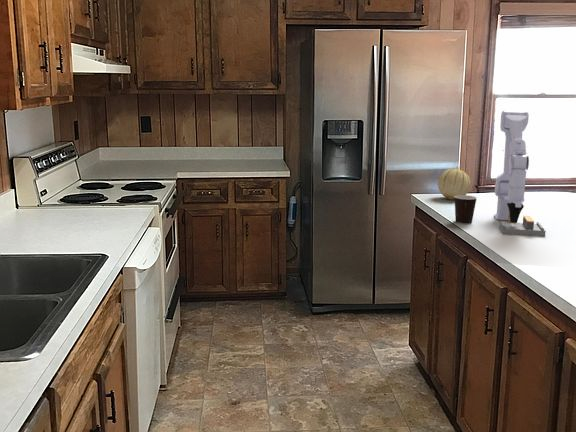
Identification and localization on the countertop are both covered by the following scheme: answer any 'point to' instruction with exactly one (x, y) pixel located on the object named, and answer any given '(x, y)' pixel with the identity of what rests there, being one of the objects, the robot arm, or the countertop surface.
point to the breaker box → (521, 229)
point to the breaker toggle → (528, 222)
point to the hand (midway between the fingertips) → (513, 222)
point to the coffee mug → (464, 208)
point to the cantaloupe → (453, 183)
